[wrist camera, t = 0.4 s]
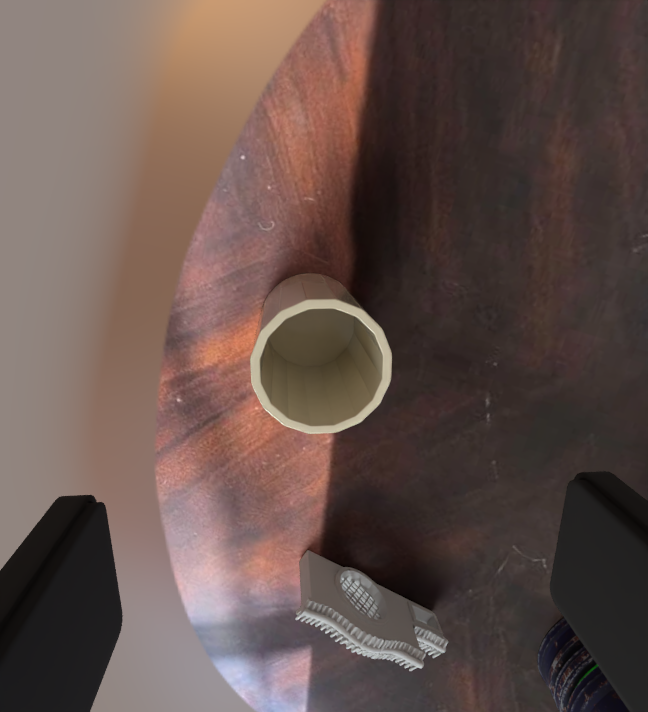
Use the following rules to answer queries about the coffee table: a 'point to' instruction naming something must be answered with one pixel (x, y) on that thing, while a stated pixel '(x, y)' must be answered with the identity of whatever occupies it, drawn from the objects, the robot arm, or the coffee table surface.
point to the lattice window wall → (358, 631)
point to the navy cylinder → (575, 674)
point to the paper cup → (318, 356)
